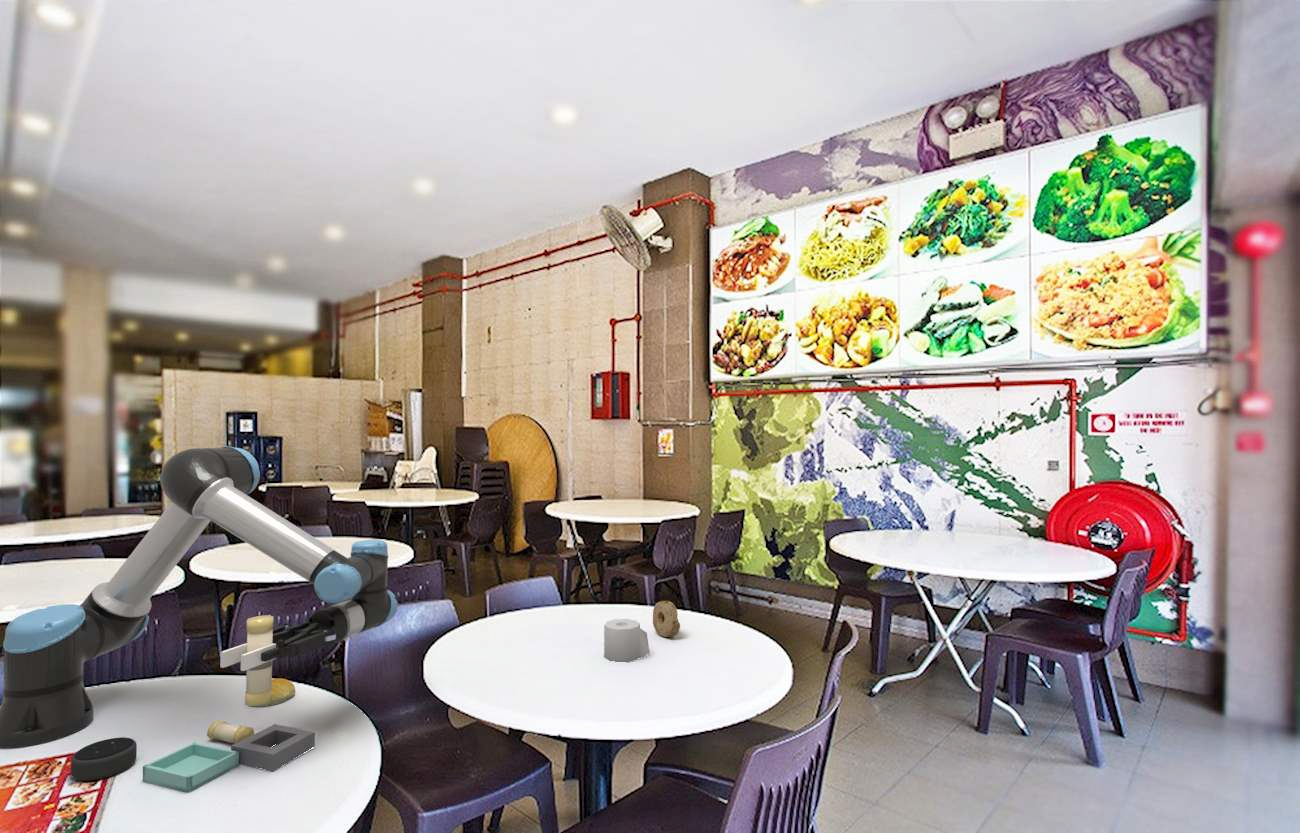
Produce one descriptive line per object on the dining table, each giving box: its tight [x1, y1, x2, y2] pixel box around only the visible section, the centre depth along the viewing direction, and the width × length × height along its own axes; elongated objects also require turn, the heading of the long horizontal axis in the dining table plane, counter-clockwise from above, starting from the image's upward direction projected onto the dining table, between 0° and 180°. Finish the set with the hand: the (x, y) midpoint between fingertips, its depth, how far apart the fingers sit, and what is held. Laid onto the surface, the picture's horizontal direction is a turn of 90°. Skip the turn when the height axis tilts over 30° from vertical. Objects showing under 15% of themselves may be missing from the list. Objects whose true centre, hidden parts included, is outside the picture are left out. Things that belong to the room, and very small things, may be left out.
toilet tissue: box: [603, 618, 650, 663], centre depth 173 cm, size 9×13×9 cm
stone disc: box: [652, 600, 681, 638], centre depth 189 cm, size 10×4×10 cm, turn 35°
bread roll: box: [257, 677, 296, 707], centre depth 144 cm, size 8×9×4 cm
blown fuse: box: [244, 614, 275, 707], centre depth 118 cm, size 4×4×15 cm
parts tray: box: [142, 741, 240, 794], centre depth 113 cm, size 11×9×2 cm
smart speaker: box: [70, 736, 138, 782], centre depth 114 cm, size 9×9×4 cm
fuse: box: [206, 720, 255, 744], centre depth 125 cm, size 8×3×3 cm, turn 71°
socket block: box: [230, 723, 316, 772], centre depth 119 cm, size 10×9×3 cm
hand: (232, 661), depth 113 cm, fingers closed on blown fuse, 4 cm apart
